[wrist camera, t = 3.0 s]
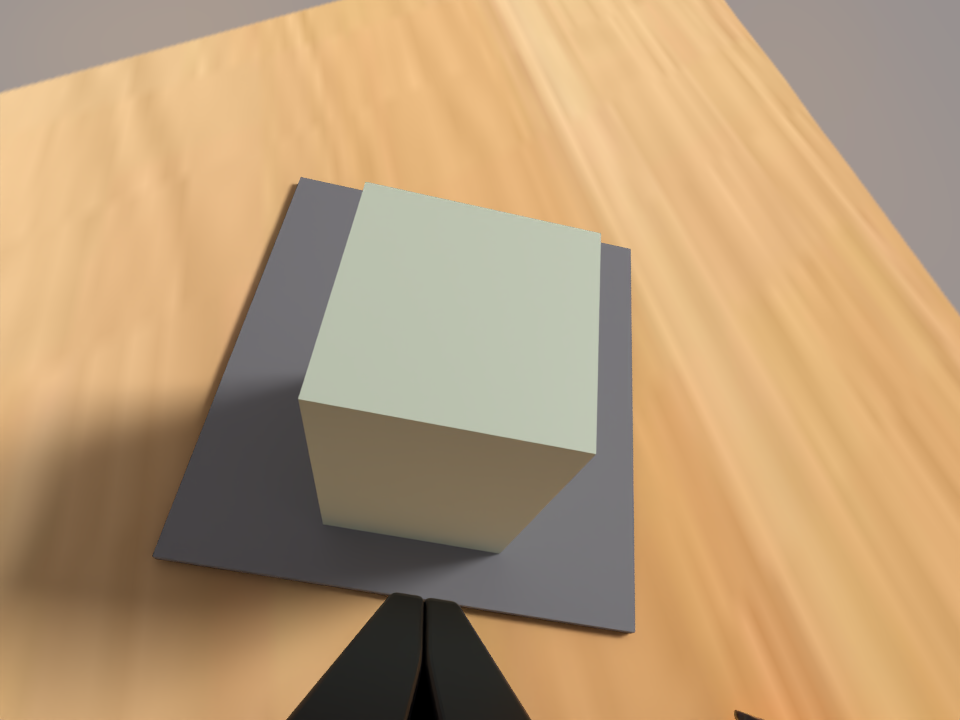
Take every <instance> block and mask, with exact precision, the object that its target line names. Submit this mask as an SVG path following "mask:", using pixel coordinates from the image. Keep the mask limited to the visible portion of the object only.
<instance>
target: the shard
mask: <svg viewBox="0 0 960 720" xmlns="http://www.w3.org/2000/svg"><path fill="white" fill-rule="evenodd" d="M734 716H735V719H736V720H764V719H761V718H758V717H755V716H752V715H750V714H748V713H745V712H741V711H737V710H735V711H734Z"/></svg>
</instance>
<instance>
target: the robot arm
mask: <svg viewBox="0 0 960 720" xmlns="http://www.w3.org/2000/svg"><path fill="white" fill-rule="evenodd" d="M286 720H531V719H530V717H529V715H528V714H527V712H526V711H525V709H524V708H523V706H522V704H521V703H520V701H519V700H518V698H517V696H516V695H515V693H514V692H513V690H512V689H511V687H510V685H509V684H508V682H507V681H506V679H505V677H504V676H503V674H502V673H501V671H500V669H499V668H498V666H497V665H496V663H495V662H494V660H493V658H492V657H491V655H490V654H489V652H488V650H487V649H486V647H485V646H484V644H483V642H482V641H481V639H480V638H479V636H478V635H477V633H476V631H475V630H474V628H473V627H472V625H471V623H470V622H469V620H468V619H467V617H466V616H465V614H464V612H463V611H462V609H461V608H460V606H459V605H458V604H457V603H456V602H454V601H449V600H442V599H436V598H427V599H426V600H425V602H424V600H423V598H422V597H421V596H417V595H411V594H405V593H399V592H394V593H392V594H391V595H390V596H389V597H388V598H387V599H386V600H385V602H384V603H383V604H382V605H381V606H380V608H379V609H378V610H377V611H376V612H375V614H374V615H373V616H372V617H371V618H370V620H369V621H368V622H367V623H366V624H365V626H364V627H363V628H362V629H361V630H360V632H359V633H358V634H357V635H356V636H355V638H354V639H353V640H352V641H351V642H350V644H349V645H348V646H347V647H346V648H345V650H344V651H343V652H342V653H341V654H340V656H339V657H338V658H337V659H336V660H335V662H334V663H333V664H332V665H331V666H330V668H329V669H328V670H327V671H326V673H325V674H324V675H323V676H322V677H321V679H320V680H319V681H318V682H317V683H316V685H315V686H314V687H313V688H312V689H311V691H310V692H309V693H308V694H307V695H306V697H305V698H304V699H303V700H302V701H301V703H300V704H299V705H298V706H297V707H296V709H295V710H294V711H293V712H292V713H291V715H290V716H289V717H288V718H287V719H286Z"/></svg>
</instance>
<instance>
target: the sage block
mask: <svg viewBox="0 0 960 720" xmlns="http://www.w3.org/2000/svg"><path fill="white" fill-rule="evenodd" d="M600 255H601V233H596V232H592V231H587V230H583V229H578V228H574V227H569V226H564V225H560V224H555V223H551V222H546V221H542V220H537V219H533V218H528V217H524V216H519V215H514V214H510V213H505V212H501V211H496V210H492V209H487V208H483V207H478V206H474V205H469V204H464V203H460V202H455V201H451V200H446V199H442V198H437V197H433V196H428V195H423V194H419V193H414V192H410V191H405V190H401V189H396V188H392V187H387V186H383V185H378V184H373V183H369V182H365V185H364V189H363V192H362V195H361V198H360V202H359V205H358V208H357V211H356V214H355V218H354V221H353V224H352V227H351V231H350V234H349V237H348V240H347V243H346V247H345V250H344V253H343V256H342V259H341V263H340V266H339V269H338V272H337V276H336V279H335V282H334V285H333V288H332V292H331V295H330V298H329V301H328V305H327V308H326V311H325V314H324V317H323V321H322V324H321V327H320V330H319V333H318V337H317V340H316V343H315V346H314V350H313V353H312V356H311V359H310V362H309V366H308V369H307V372H306V375H305V378H304V382H303V385H302V388H301V391H300V395H299V398H298V401H299V406H300V411H301V416H302V421H303V426H304V431H305V436H306V441H307V446H308V451H309V456H310V461H311V466H312V471H313V476H314V481H315V486H316V492H317V497H318V502H319V507H320V512H321V517H322V522H323V524H324V525H330V526H336V527H342V528H348V529H354V530H360V531H366V532H372V533H378V534H384V535H390V536H396V537H402V538H408V539H414V540H420V541H426V542H432V543H438V544H444V545H450V546H456V547H462V548H468V549H474V550H480V551H486V552H492V553H498V554H500V553H501V552H502V551H503V550H504V549H505V548H506V547H507V546H508V545H509V544H510V543H511V542H512V541H513V539H514V538H515V537H516V536H517V535H518V534H519V533H520V532H521V531H522V530H523V529H524V528H525V527H526V526H527V525H528V524H529V523H530V522H531V521H532V520H533V519H534V518H535V517H536V516H537V515H538V514H539V513H540V512H541V511H542V509H543V508H544V507H545V506H546V505H547V504H548V503H549V502H550V501H551V500H552V499H553V498H554V497H555V496H556V495H557V494H558V493H559V492H560V491H561V490H562V489H563V488H564V487H565V486H566V485H567V484H568V483H569V482H570V481H571V480H572V478H573V477H574V476H575V475H576V474H577V473H578V472H579V471H580V470H581V469H582V468H583V467H584V466H585V465H586V464H587V463H588V462H589V461H590V460H591V459H592V458H593V457H594V456H595V455H596V437H597V392H598V346H599V300H600Z"/></svg>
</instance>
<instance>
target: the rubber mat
mask: <svg viewBox="0 0 960 720" xmlns="http://www.w3.org/2000/svg"><path fill="white" fill-rule="evenodd" d="M362 192H363V191H362V190H358V189H353V188H348V187H344V186H339V185H335V184H330V183H326V182H321V181H316V180H312V179H307V178H303V177H301V178H300V181H299V183H298V186H297V188H296V191H295V194H294V196H293V199H292V201H291V204H290V206H289V209H288V211H287V214H286V216H285V219H284V222H283V224H282V227H281V229H280V232H279V234H278V237H277V239H276V242H275V245H274V247H273V250H272V252H271V255H270V257H269V260H268V262H267V265H266V267H265V270H264V273H263V275H262V278H261V280H260V283H259V285H258V288H257V290H256V293H255V296H254V298H253V301H252V303H251V306H250V308H249V311H248V313H247V316H246V318H245V321H244V324H243V326H242V329H241V331H240V334H239V336H238V339H237V341H236V344H235V347H234V349H233V352H232V354H231V357H230V359H229V362H228V364H227V367H226V369H225V372H224V375H223V377H222V380H221V382H220V385H219V387H218V390H217V392H216V395H215V398H214V400H213V403H212V405H211V408H210V410H209V413H208V415H207V418H206V420H205V423H204V426H203V428H202V431H201V433H200V436H199V438H198V441H197V443H196V446H195V448H194V451H193V454H192V456H191V459H190V461H189V464H188V466H187V469H186V471H185V474H184V477H183V479H182V482H181V484H180V487H179V489H178V492H177V494H176V497H175V499H174V502H173V505H172V507H171V510H170V512H169V515H168V517H167V520H166V522H165V525H164V528H163V530H162V533H161V535H160V538H159V540H158V543H157V545H156V548H155V550H154V553H153V557H154V558H155V559H161V560H167V561H174V562H180V563H186V564H193V565H199V566H205V567H212V568H218V569H225V570H231V571H237V572H244V573H250V574H256V575H263V576H269V577H275V578H282V579H288V580H294V581H301V582H307V583H314V584H320V585H326V586H333V587H339V588H345V589H352V590H358V591H364V592H371V593H377V594H383V595H391V594H392V593H394V592H399V593H405V594H411V595H417V596H421V597H422V598H423V600H424V601H425V600H426V599H427V598H436V599H442V600H449V601H454V602H456V603H457V604H458V605H459V606H460V607H466V608H473V609H479V610H485V611H492V612H498V613H504V614H511V615H517V616H523V617H530V618H536V619H542V620H549V621H555V622H562V623H568V624H574V625H581V626H587V627H593V628H600V629H606V630H612V631H619V632H625V633H634V632H635V583H634V499H633V415H632V331H631V249H628V248H623V247H619V246H614V245H609V244H605V243H601V255H600V300H599V346H598V392H597V437H596V455H595V456H594V457H593V458H592V459H591V460H590V461H589V462H588V463H587V464H586V465H585V466H584V467H583V468H582V469H581V470H580V471H579V472H578V473H577V474H576V475H575V476H574V477H573V478H572V480H571V481H570V482H569V483H568V484H567V485H566V486H565V487H564V488H563V489H562V490H561V491H560V492H559V493H558V494H557V495H556V496H555V497H554V498H553V499H552V500H551V501H550V502H549V503H548V504H547V505H546V506H545V507H544V508H543V509H542V511H541V512H540V513H539V514H538V515H537V516H536V517H535V518H534V519H533V520H532V521H531V522H530V523H529V524H528V525H527V526H526V527H525V528H524V529H523V530H522V531H521V532H520V533H519V534H518V535H517V536H516V537H515V538H514V539H513V541H512V542H511V543H510V544H509V545H508V546H507V547H506V548H505V549H504V550H503V551H502V552H501V553H500V554H498V553H492V552H486V551H480V550H474V549H468V548H462V547H456V546H450V545H444V544H438V543H432V542H426V541H420V540H414V539H408V538H402V537H396V536H390V535H384V534H378V533H372V532H366V531H360V530H354V529H348V528H342V527H336V526H330V525H324V524H323V522H322V517H321V512H320V507H319V502H318V497H317V492H316V486H315V481H314V476H313V471H312V466H311V461H310V456H309V451H308V446H307V441H306V436H305V431H304V426H303V421H302V416H301V411H300V406H299V401H298V398H299V395H300V391H301V388H302V385H303V382H304V378H305V375H306V372H307V369H308V366H309V362H310V359H311V356H312V353H313V350H314V346H315V343H316V340H317V337H318V333H319V330H320V327H321V324H322V321H323V317H324V314H325V311H326V308H327V305H328V301H329V298H330V295H331V292H332V288H333V285H334V282H335V279H336V276H337V272H338V269H339V266H340V263H341V259H342V256H343V253H344V250H345V247H346V243H347V240H348V237H349V234H350V231H351V227H352V224H353V221H354V218H355V214H356V211H357V208H358V205H359V202H360V198H361V195H362Z"/></svg>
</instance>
